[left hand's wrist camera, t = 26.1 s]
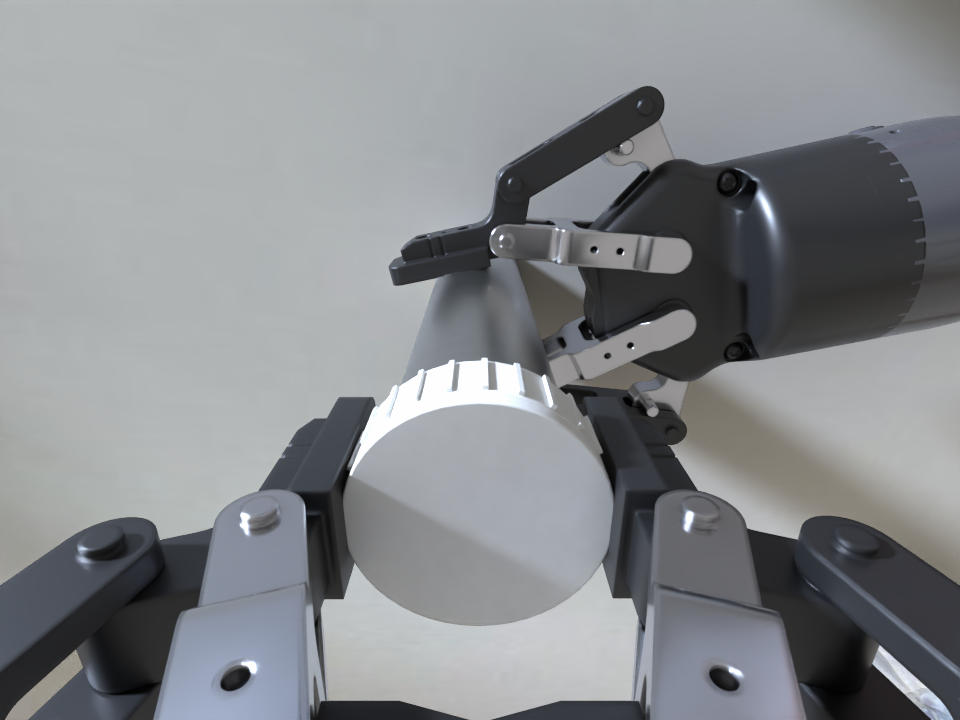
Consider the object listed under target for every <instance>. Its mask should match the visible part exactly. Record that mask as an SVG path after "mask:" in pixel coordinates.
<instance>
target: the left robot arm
mask: <svg viewBox="0 0 960 720" xmlns="http://www.w3.org/2000/svg"><path fill="white" fill-rule="evenodd" d="M374 408H375V401H374V398H373V397H339V398H338V400H337V402H336V403H335V405H334V407H333V409H332V410H331V412H330V414H329V416H328V417H327V419H314V420H312V421H311V422H309V423H308V424H306V425H305V426H303V427H302V428H300V429H299V430H298V431H297V432H296V434H295V435H294V437H293V438H292V440H291V442H290V443H289V447H287V448H286V449H285V451H284V452H283V454H282V458H280V459H279V460H278V462H277V463H276V465H275V466H274V468H273V469H272V471H271V472H270V474H269V476H268V477H267V479H266V480H265V482H264V483H263V485H262V486H261V488H260V489H259V491H258V492H255V493H252V494H249V495H246V496H244V497H241V498H239V499H237V500H235V501H234V502H232V503H231V504H229V505H228V506H227V507H225V508H224V509H223V510H222V511H221V512H220V513H219V515H218V516H217V518H216V520H215V523H214V527H213V528H211V529H208V530H205V531H201V532H197V533H192V534H187V535H182V536H178V537H173V538H168V539H163V540H160V539H159V536H158V532H157V529H156V526H155V525H154V524H153V523H152V522H151V521H149V520H147V519H143V518H137V517H127V518H119V519H114V520H109V521H106V522H102V523H99V524H96V525H94V526H91V527H89V528H87V529H84V530H83V531H81V532H79V533H77V534H75V535H74V536H72V537H70V538H69V539H67V540H66V541H64V542H63V543H61V544H60V545H59V546H57V547H56V548H54V549H53V550H51V551H50V552H48V553H47V554H45V555H44V556H43V557H41V558H40V559H38V560H37V561H35V562H34V563H32V564H31V565H29V566H28V567H27V568H25V569H24V570H22V571H21V572H19V573H18V574H16V575H15V576H13V577H12V578H11V579H9V580H8V581H6V582H5V583H3V584H2V585H0V720H5V718H6V717H7V715H8V713H9V712H10V711H11V709H12V708H13V707H14V705H15V704H16V703H17V702H18V701H19V700H20V699H21V698H22V697H23V696H24V695H25V694H26V693H28V692H29V691H30V690H31V689H32V688H33V687H34V686H35V685H36V684H38V683H39V682H40V681H41V680H42V679H43V678H44V677H45V676H46V675H48V674H49V673H50V672H51V671H52V670H53V669H54V668H55V667H57V666H58V665H59V664H60V663H61V662H62V661H63V660H64V659H65V658H67V657H68V656H69V655H70V654H71V653H72V652H73V651H74V650H77V653H78V655H79V658H80V660H81V663H82V665H83V669H82V670H81V671H79V672H78V673H77V674H76V675H75V676H74V677H73V678H72V679H71V680H70V681H69V682H68V683H67V684H66V685H65V686H64V687H63V688H61V689H60V690H59V691H58V692H57V693H56V694H55V695H54V696H53V697H52V698H51V699H50V700H49V701H48V702H47V703H46V704H44V705H43V706H42V707H41V708H40V709H39V710H38V711H37V712H36V713H35V714H34V715H33V716H32V717H31V718H30V719H29V720H468V719H464V718H460V717H457V716H453V715H449V714H445V713H442V712H438V711H434V710H431V709H427V708H423V707H420V706H416V705H412V704H409V703H405V702H401V701H329V698H328V684H327V670H326V657H325V643H324V629H323V622H322V616H321V607H322V604H323V601H324V599H344V596H345V593H346V589H347V586H348V583H349V579H350V576H351V573H352V569H353V566H354V563H355V561H354V560H353V558H352V556H351V554H350V552H349V549H348V542H347V534H346V525H345V517H344V508H343V492H344V489H345V485H346V482H347V479H348V476H349V474H350V471H349V470H347V467H348V464H349V461H350V459H351V457H352V454H353V452H354V450H355V447H356V445H357V442H358V440H359V438H360V435H361V433H362V431H365V428H366V426H367V423H368V421H369V419H370V416H371V414H372V411H373V409H374ZM581 414H582V415H583V417H584V416H588V417H589V419H590V422H591V424H592V427H593V429H594V431H595V434H596V436H597V439H598V441H599V444H600V446H601V449H602V451H603V453H602V454H600V456H601V458H602V461H603V463H604V466H605V469H606V471H607V474H608V476H609V480H610V483H611V487H612V490H613V494H614V504H613V513H612V522H611V531H610V540H609V547H608V551H607V554H606V555H605V557H604V559H603V561H602V563H603V566H604V570H605V573H606V577H607V580H608V583H609V587H610V590H611V594H612V597H613V598H632V600H633V603H634V606H635V609H636V612H637V615H638V622H637V629H636V643H635V657H634V670H633V684H632V698H631V701H559V702H555V703H551V704H548V705H544V706H540V707H537V708H533V709H529V710H526V711H522V712H518V713H515V714H511V715H507V716H503V717H500V718H496V719H492V720H931V719H930V718H929V717H928V716H927V715H926V714H925V713H924V712H923V711H922V710H921V709H920V708H919V707H918V706H917V705H916V704H914V703H913V702H912V701H911V700H910V699H909V698H908V697H907V696H906V695H905V694H904V693H903V692H902V691H901V690H900V689H899V688H897V687H896V686H895V685H894V684H893V683H892V682H891V681H890V680H889V679H888V678H887V677H886V676H885V675H884V674H883V673H882V672H880V671H879V670H878V669H877V668H876V667H875V666H874V665H873V664H872V663H873V661H874V658H875V656H876V653H877V650H878V648H879V645H880V646H881V647H882V648H883V649H884V650H886V651H887V652H888V653H889V654H890V655H891V656H892V657H893V658H895V659H896V660H897V661H898V662H899V663H900V664H901V665H902V666H903V667H905V668H906V669H907V670H908V671H909V672H910V673H911V674H912V675H913V676H915V677H916V678H917V679H918V680H919V681H920V682H921V683H922V684H924V685H925V686H926V687H927V688H928V689H929V690H930V691H931V692H932V693H934V694H935V695H936V696H937V697H938V698H939V699H940V701H941V702H942V703H943V704H944V705H945V707H946V708H947V710H948V711H949V713H950V714H951V716H952V718H953V720H960V585H958V584H957V583H955V582H954V581H952V580H951V579H949V578H948V577H946V576H945V575H944V574H942V573H941V572H939V571H938V570H936V569H935V568H933V567H932V566H931V565H929V564H928V563H926V562H925V561H923V560H922V559H920V558H919V557H917V556H916V555H915V554H913V553H912V552H910V551H909V550H907V549H906V548H904V547H903V546H901V545H900V544H899V543H897V542H896V541H894V540H893V539H891V538H890V537H888V536H887V535H885V534H884V533H882V532H880V531H878V530H876V529H874V528H872V527H870V526H868V525H865V524H863V523H860V522H857V521H854V520H850V519H847V518H842V517H836V516H817V517H813V518H810V519H808V520H806V521H805V522H804V523H803V525H802V527H801V530H800V534H799V538H798V540H796V539H792V538H787V537H782V536H777V535H773V534H768V533H763V532H758V531H754V530H750V529H747V527H746V523H745V520H744V518H743V516H742V515H741V513H740V512H739V511H738V510H737V509H736V508H735V507H733V506H732V505H731V504H729V503H728V502H726V501H725V500H723V499H721V498H719V497H716V496H714V495H711V494H708V493H705V492H701V491H698V490H697V488H696V487H695V485H694V484H693V482H692V481H691V479H690V477H689V476H688V474H687V473H686V471H685V470H684V468H683V467H682V465H681V463H680V462H679V460H678V459H677V458H675V454H674V452H673V451H672V449H671V448H670V446H668V443H667V441H666V440H665V438H664V437H663V435H662V434H661V432H660V430H659V429H657V428H656V427H654V426H653V425H651V424H650V423H648V422H647V421H646V420H644V419H643V418H630V417H629V415H628V414H627V412H626V410H625V408H624V406H623V405H622V403H621V401H620V399H619V398H618V397H584V398H583V402H582V408H581Z"/></svg>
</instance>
